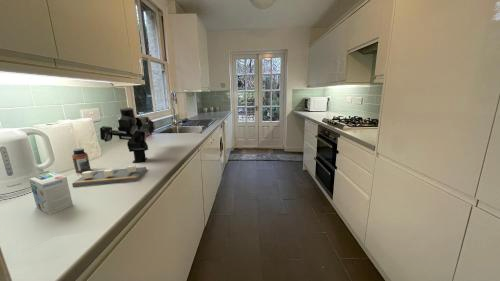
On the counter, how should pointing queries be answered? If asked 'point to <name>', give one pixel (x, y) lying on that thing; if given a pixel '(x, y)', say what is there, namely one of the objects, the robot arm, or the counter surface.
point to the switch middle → (108, 173)
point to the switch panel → (118, 176)
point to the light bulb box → (51, 192)
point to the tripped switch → (131, 169)
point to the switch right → (87, 174)
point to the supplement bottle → (80, 160)
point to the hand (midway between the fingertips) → (117, 141)
